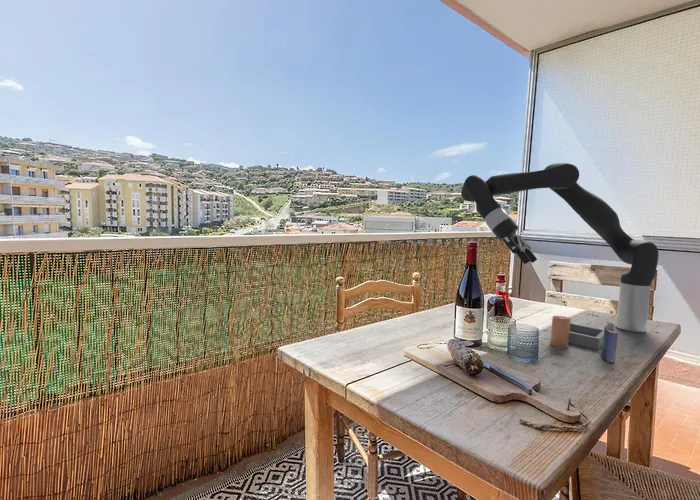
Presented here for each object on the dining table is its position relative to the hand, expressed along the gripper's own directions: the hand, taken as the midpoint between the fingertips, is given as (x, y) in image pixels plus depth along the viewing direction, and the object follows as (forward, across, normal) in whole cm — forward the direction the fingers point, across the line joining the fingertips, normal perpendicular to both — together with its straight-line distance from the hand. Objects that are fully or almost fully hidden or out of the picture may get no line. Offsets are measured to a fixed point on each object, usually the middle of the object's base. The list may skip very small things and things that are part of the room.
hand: (531, 261), depth 125 cm
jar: (+26, 0, +10) cm, 28 cm away
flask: (+35, -2, 0) cm, 35 cm away
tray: (+28, +12, +6) cm, 31 cm away
